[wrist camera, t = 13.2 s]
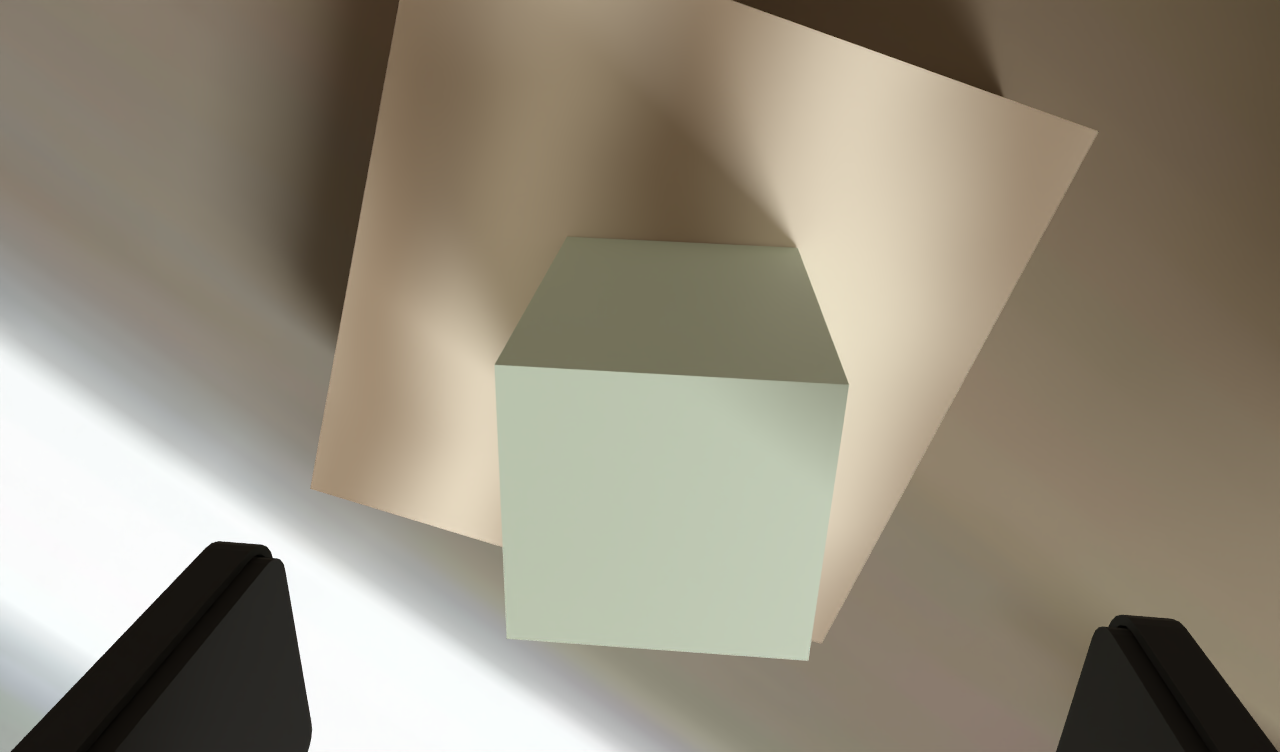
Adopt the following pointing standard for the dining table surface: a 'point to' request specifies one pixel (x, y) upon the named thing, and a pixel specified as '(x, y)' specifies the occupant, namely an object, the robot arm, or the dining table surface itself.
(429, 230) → the birch block
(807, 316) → the sage block
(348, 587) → the dining table surface
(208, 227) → the dining table surface
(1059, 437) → the dining table surface
